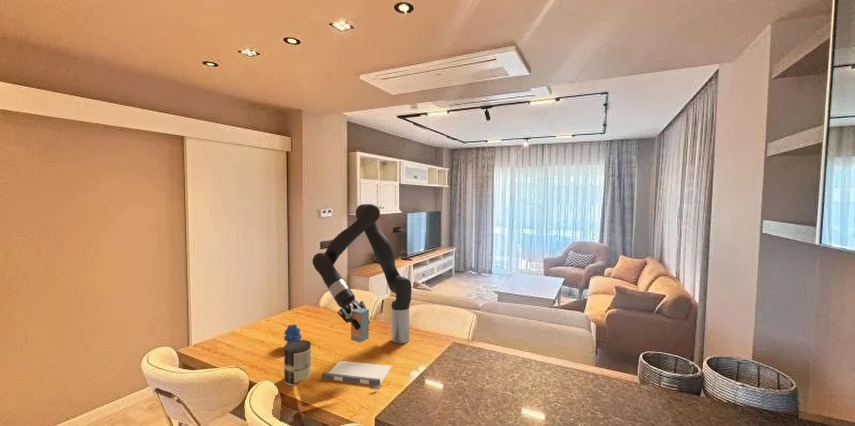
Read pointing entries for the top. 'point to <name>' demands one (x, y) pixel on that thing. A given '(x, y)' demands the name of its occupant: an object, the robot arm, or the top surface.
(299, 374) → the coffee can
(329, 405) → the top surface
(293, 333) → the grapes
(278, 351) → the top surface
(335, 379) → the shelf
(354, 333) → the carton
